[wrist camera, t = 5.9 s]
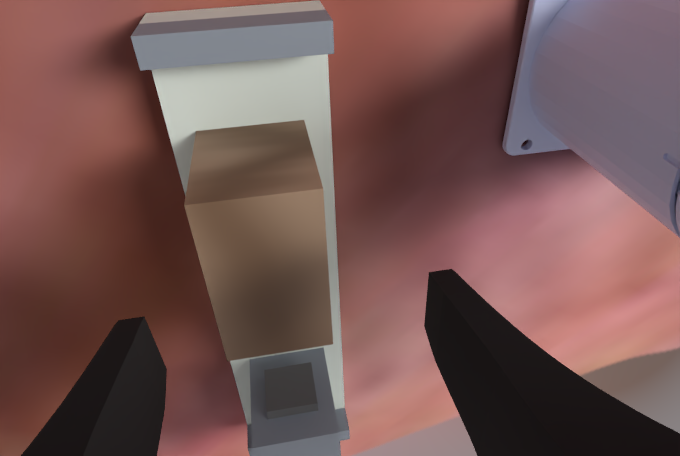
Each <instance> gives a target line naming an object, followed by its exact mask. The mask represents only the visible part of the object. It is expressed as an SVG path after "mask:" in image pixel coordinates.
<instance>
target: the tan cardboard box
mask: <svg viewBox="0 0 680 456" xmlns="http://www.w3.org/2000/svg"><path fill="white" fill-rule="evenodd" d="M184 207H185V210H186V214H187V217H188V221H189V225H190V228H191V232H192V235H193V239H194V243H195V246H196V250H197V254H198V257H199V261H200V264H201V268H202V272H203V275H204V279H205V282H206V286H207V290H208V293H209V297H210V301H211V304H212V308H213V311H214V315H215V319H216V322H217V326H218V329H219V333H220V337H221V340H222V344H223V348H224V351H225V355H226V358H227V361H233V360H239V359H245V358H251V357H257V356H263V355H270V354H276V353H282V352H288V351H294V350H301V349H307V348H313V347H319V346H325V345H332V344H333V332H332V317H331V301H330V286H329V270H328V255H327V239H326V224H325V208H324V193H323V186H322V182H321V179H320V175H319V172H318V168H317V164H316V161H315V157H314V154H313V150H312V147H311V143H310V139H309V136H308V132H307V129H306V125H305V122H304V120H298V121H288V122H278V123H269V124H259V125H249V126H240V127H230V128H220V129H211V130H201V131H196V134H195V140H194V147H193V153H192V159H191V165H190V172H189V178H188V184H187V191H186V197H185V203H184Z"/></svg>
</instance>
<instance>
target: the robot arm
mask: <svg viewBox="0 0 680 456" xmlns="http://www.w3.org/2000/svg"><path fill="white" fill-rule="evenodd" d="M525 140H528V142H527V144H525V145H524V146H521V145H522V143H523V142H524V141H525ZM503 149H504V151H505V152H506V153H507V154H509V155H513V156H515V155H523V154H531V153H540V152H548V151H557V150H565V149H571V150H572V151H574V152H575V153H576V154H577V155H579V156H580V157H581V158H582V159H583V160H585V161H586V162H587V163H588V164H590V165H591V166H592V167H593V168H595V169H596V170H597V171H598V172H599V173H601V174H602V175H603V176H604V177H606V178H607V179H608V180H609V181H611V182H612V183H613V184H614V185H615V186H617V187H618V188H619V189H620V190H622V191H623V192H624V193H625V194H627V195H628V196H629V197H630V198H631V199H633V200H634V201H635V202H636V203H638V204H639V205H640V206H641V207H643V208H644V209H645V210H646V211H647V212H649V213H650V214H651V215H652V216H654V217H655V218H656V219H657V220H659V221H660V222H661V223H662V224H663V225H665V226H666V227H667V228H668V229H670V230H671V231H672V232H673V233H675V234H676V235H677V236H678V237H679V238H680V0H530V1H529V6H528V11H527V17H526V22H525V27H524V33H523V38H522V43H521V49H520V54H519V59H518V65H517V70H516V75H515V81H514V86H513V91H512V96H511V102H510V107H509V112H508V118H507V123H506V128H505V134H504V139H503ZM424 326H425V330H426V333H427V336H428V339H429V343H430V346H431V349H432V352H433V355H434V358H435V361H436V363H437V366H438V368H439V370H440V373H441V375H442V377H443V379H444V381H445V384H446V386H447V388H448V390H449V392H450V395H451V397H452V399H453V401H454V403H455V406H456V408H457V410H458V412H459V414H460V417H461V419H462V421H463V423H464V425H465V427H466V430H467V432H468V434H469V436H470V439H471V441H472V443H473V446H474V448H475V451H476V453H477V456H680V434H679V433H678V432H676V431H674V430H672V429H670V428H668V427H666V426H664V425H662V424H659V423H658V422H656V421H654V420H652V419H651V418H649V417H647V416H645V415H643V414H641V413H640V412H638V411H636V410H634V409H633V408H631V407H629V406H628V405H626V404H624V403H622V402H621V401H619V400H617V399H616V398H614V397H612V396H610V395H609V394H607V393H605V392H604V391H602V390H600V389H599V388H597V387H596V386H594V385H593V384H591V383H589V382H588V381H586V380H585V379H583V378H582V377H580V376H579V375H577V374H576V373H574V372H573V371H572V370H570V369H569V368H567V367H566V366H564V365H563V364H561V363H560V362H559V361H557V360H556V359H555V358H553V357H552V356H551V355H549V354H548V353H547V352H545V351H544V350H543V349H541V348H540V347H539V346H538V345H536V344H535V343H534V342H533V341H531V340H530V339H529V338H528V337H526V336H525V335H524V334H523V333H522V332H520V331H519V330H518V329H517V328H516V327H514V326H513V325H512V324H511V323H510V322H509V321H508V320H506V319H505V318H504V317H503V316H502V315H501V314H499V313H498V312H497V311H496V310H495V309H494V308H493V307H492V306H491V305H490V304H488V303H487V302H486V301H485V300H484V299H483V298H482V297H481V296H480V295H479V294H478V293H477V292H476V291H475V290H474V289H472V288H471V287H470V286H469V285H468V284H467V283H466V282H465V281H464V280H463V279H462V278H461V277H460V276H459V275H458V274H457V273H456V272H455V271H453V270H452V269H449V270H442V271H436V272H429V279H428V290H427V302H426V313H425V325H424ZM166 371H167V369H166V366H165V364H164V362H163V359H162V357H161V355H160V352H159V350H158V348H157V345H156V343H155V341H154V338H153V336H152V334H151V331H150V329H149V327H148V324H147V322H146V320H145V317H138V318H132V319H125V320H119V321H118V322H117V323H116V324H115V325H114V327H113V328H112V330H111V332H110V333H109V335H108V336H107V338H106V339H105V341H104V342H103V344H102V345H101V347H100V348H99V350H98V351H97V353H96V354H95V356H94V357H93V359H92V360H91V362H90V363H89V365H88V366H87V368H86V369H85V371H84V372H83V374H82V375H81V377H80V378H79V379H78V381H77V382H76V384H75V385H74V387H73V388H72V389H71V391H70V392H69V394H68V395H67V397H66V398H65V399H64V401H63V402H62V404H61V405H60V406H59V408H58V409H57V410H56V412H55V413H54V414H53V416H52V417H51V418H50V419H49V421H48V422H47V423H46V425H45V426H44V427H43V429H42V430H41V431H40V432H39V434H38V435H37V436H36V438H35V439H34V440H33V441H32V443H31V444H30V445H29V446H28V448H27V449H26V450H25V451H24V453H23V454H22V455H21V456H157V451H158V445H159V440H160V434H161V428H162V422H163V416H164V410H165V395H166Z"/></svg>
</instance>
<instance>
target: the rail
mask: <svg viewBox="0 0 680 456" xmlns="http://www.w3.org/2000/svg"><path fill="white" fill-rule="evenodd" d="M131 40H132V43H133V47H134V50H135V54H136V57H137V61H138V64H139V68H140V71H141V70H151V71H152V74H153V78H154V82H155V85H156V89H157V93H158V97H159V100H160V104H161V108H162V111H163V115H164V119H165V122H166V126H167V130H168V133H169V137H170V141H171V145H172V148H173V152H174V156H175V159H176V163H177V167H178V170H179V174H180V178H181V182H182V185H183V189H184V193H185V196H186V191H187V184H188V178H189V172H190V165H191V159H192V153H193V147H194V140H195V134H196V131H201V130H211V129H220V128H230V127H240V126H249V125H259V124H269V123H278V122H288V121H298V120H304V122H305V125H306V129H307V132H308V136H309V139H310V143H311V147H312V150H313V154H314V157H315V161H316V164H317V168H318V172H319V175H320V179H321V182H322V186H323V193H324V208H325V224H326V239H327V255H328V270H329V286H330V301H331V317H332V332H333V344H332V345H325V346H319V347H313V348H307V349H301V350H294V351H288V352H282V353H276V354H270V355H263V356H257V357H251V358H245V359H239V360H233V361H230V363H231V366H232V370H233V374H234V377H235V381H236V385H237V388H238V392H239V396H240V400H241V403H242V407H243V411H244V414H245V418H246V422H247V430H248V451H249V454H250V456H341V450H340V441H341V440H347V439H350V436H349V426H348V421H347V417H346V412H345V404H344V383H343V362H342V341H341V320H340V300H339V279H338V258H337V237H336V217H335V196H334V175H333V154H332V134H331V113H330V92H329V71H328V54H334V38H333V20H332V19H331V17H330V16H329V14H328V13H327V11H326V10H325V8H324V7H323V5H322V4H321V2H320V1H319V0H318V1H305V2H291V3H278V4H264V5H251V6H237V7H223V8H210V9H196V10H183V11H169V12H156V13H146V14H145V15H144V17H143V18H142V20H141V21H140V23H139V24H138V26H137V27H136V29H135V31H134V32H133V34H132V35H131Z"/></svg>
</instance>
